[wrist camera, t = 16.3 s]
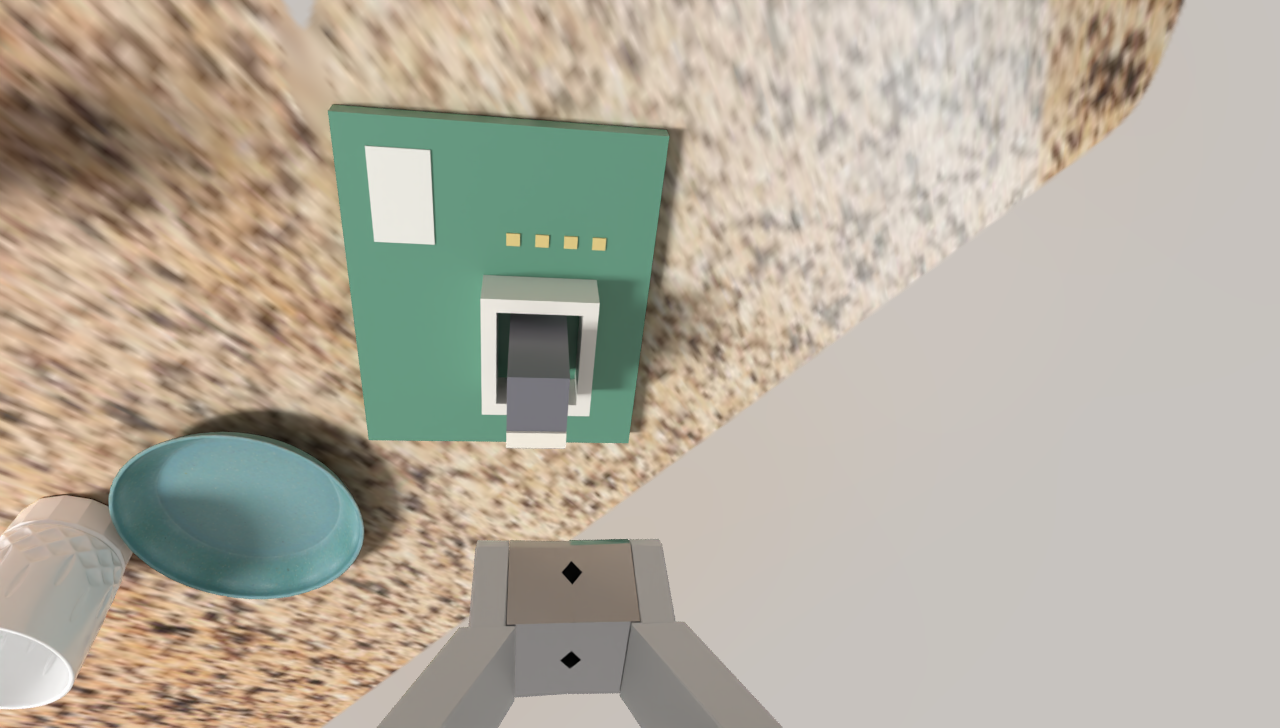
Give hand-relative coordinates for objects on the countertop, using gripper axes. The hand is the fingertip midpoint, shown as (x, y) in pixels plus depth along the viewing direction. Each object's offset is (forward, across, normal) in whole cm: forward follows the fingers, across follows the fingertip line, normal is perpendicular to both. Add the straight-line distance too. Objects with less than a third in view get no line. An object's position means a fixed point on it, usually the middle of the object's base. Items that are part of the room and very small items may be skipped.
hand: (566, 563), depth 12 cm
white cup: (+29, +29, +31) cm, 52 cm away
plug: (+28, 0, +14) cm, 31 cm away
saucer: (+30, +18, +28) cm, 45 cm away
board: (+29, +2, +12) cm, 32 cm away
